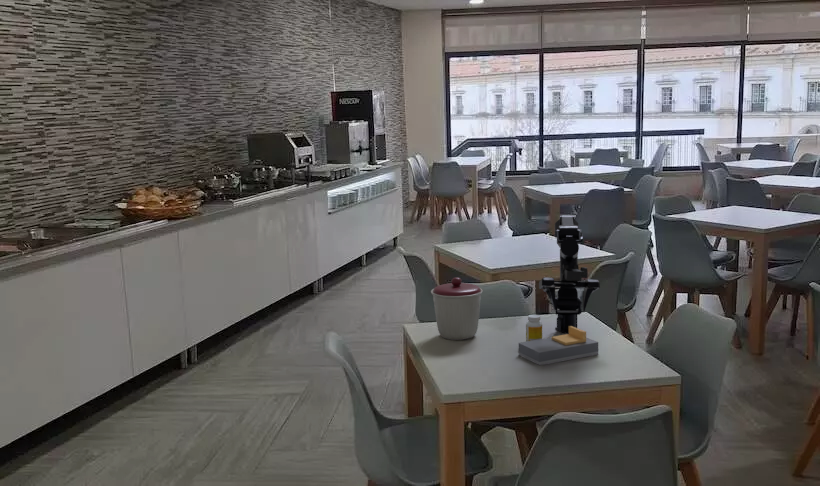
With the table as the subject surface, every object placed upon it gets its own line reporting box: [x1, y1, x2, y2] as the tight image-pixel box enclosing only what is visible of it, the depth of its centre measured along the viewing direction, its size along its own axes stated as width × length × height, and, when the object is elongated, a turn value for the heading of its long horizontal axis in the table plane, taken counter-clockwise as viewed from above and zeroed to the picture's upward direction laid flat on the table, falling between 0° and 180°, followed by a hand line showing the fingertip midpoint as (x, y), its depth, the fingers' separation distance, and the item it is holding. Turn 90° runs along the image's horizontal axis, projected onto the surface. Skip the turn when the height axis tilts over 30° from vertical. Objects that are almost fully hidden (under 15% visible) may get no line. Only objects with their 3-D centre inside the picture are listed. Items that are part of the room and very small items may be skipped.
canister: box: [430, 277, 484, 341], centre depth 266 cm, size 18×18×21 cm
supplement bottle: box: [525, 314, 543, 342], centre depth 255 cm, size 5×5×10 cm
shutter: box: [551, 326, 587, 345], centre depth 244 cm, size 8×8×3 cm
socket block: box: [518, 336, 599, 366], centre depth 243 cm, size 22×12×4 cm, turn 114°
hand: (569, 310), depth 245 cm, fingers open, 9 cm apart
